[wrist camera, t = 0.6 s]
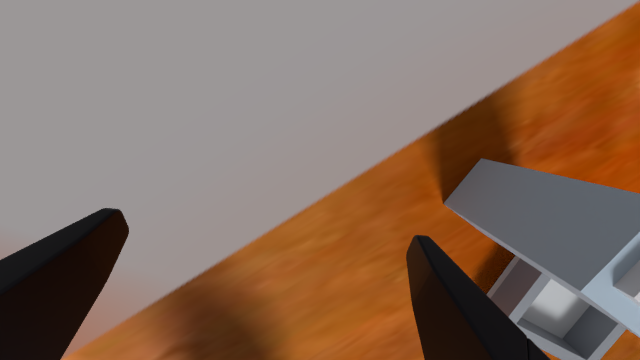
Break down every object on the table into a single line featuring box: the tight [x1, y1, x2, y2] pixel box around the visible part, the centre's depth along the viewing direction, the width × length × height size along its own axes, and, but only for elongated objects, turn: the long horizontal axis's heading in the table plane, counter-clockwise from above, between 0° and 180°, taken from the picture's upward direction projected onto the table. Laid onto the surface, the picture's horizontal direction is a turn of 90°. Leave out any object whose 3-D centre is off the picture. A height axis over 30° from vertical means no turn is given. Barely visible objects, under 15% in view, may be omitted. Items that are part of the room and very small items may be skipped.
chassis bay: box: [486, 255, 626, 360], centre depth 25 cm, size 10×10×3 cm
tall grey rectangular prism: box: [443, 158, 640, 337], centre depth 18 cm, size 5×5×14 cm
